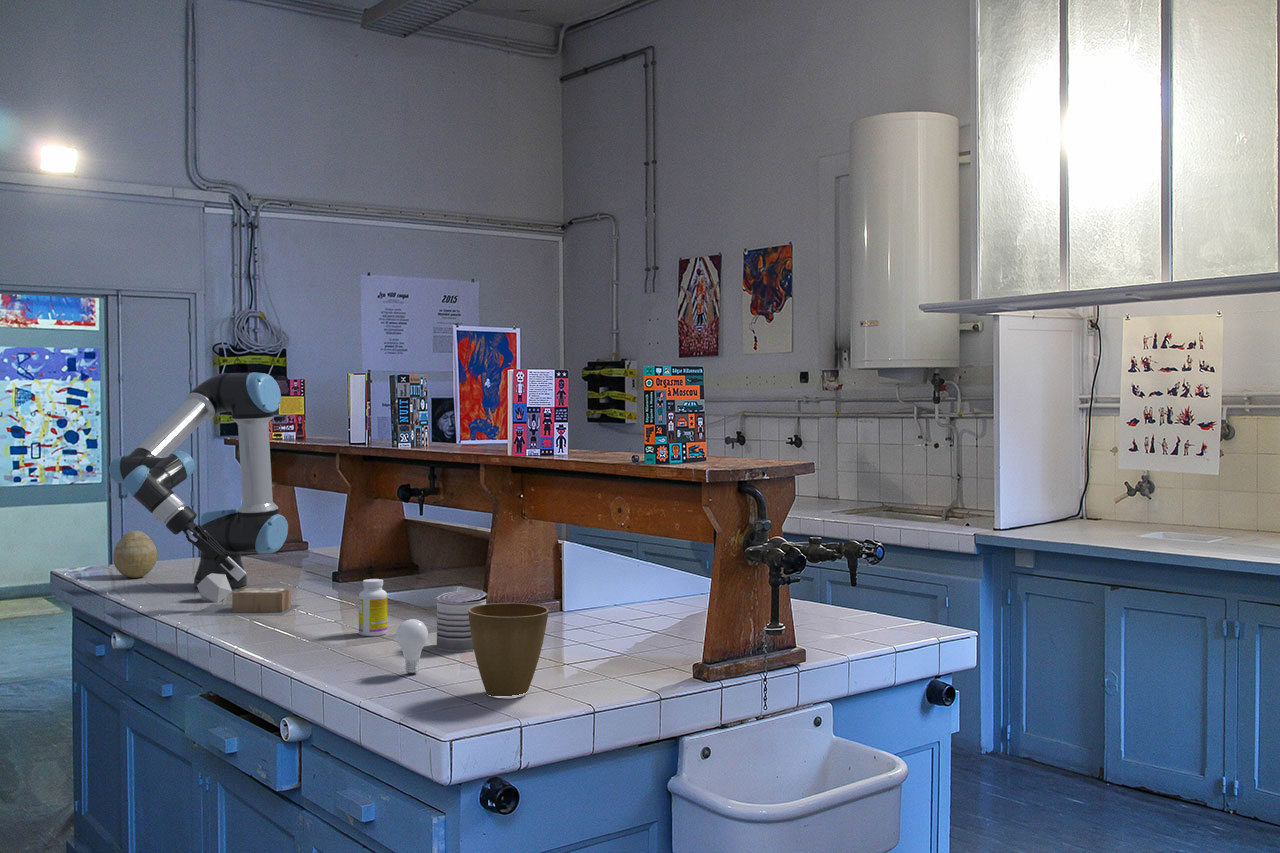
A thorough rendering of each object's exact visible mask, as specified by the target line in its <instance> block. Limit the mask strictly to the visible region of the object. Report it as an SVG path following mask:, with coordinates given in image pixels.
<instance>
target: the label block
mask: <svg viewBox="0 0 1280 853" xmlns="http://www.w3.org/2000/svg"><path fill="white" fill-rule="evenodd" d="M291 591H292V589H291V588H240V589H239V590H236V591H234V592H231V595H232V596H231V598H232V599H231V600H232V601H231V603H232V604H231V605H232V612H284V611H286V610H288V609H289V608H291V605H292V602H291V599H292V598H291V595H292V593H291Z"/></svg>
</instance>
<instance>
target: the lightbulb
mask: <svg viewBox="0 0 1280 853" xmlns="http://www.w3.org/2000/svg"><path fill="white" fill-rule="evenodd" d="M395 639H396V643H397V644H398V647H400V649H401V651H402V654H403V658H404V664H405V668H404V669H405V670H404V672H405V673H407V674H409V675H415V674H416V673H418V672H419V670H420V668H419V667H420V666H419V664H420V662H419V661H420V658H421V654H422V650H423V648H424V647H425V646H426V645H427V642H428V639H429V630H428V628H427V626H426V624H425V623H424V622H423V621H421V620H419V619H416V618H410V619H406V620H405V621H402V623H400V624H399V625H398V627H397V629H396V633H395Z"/></svg>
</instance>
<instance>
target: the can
mask: <svg viewBox="0 0 1280 853" xmlns="http://www.w3.org/2000/svg"><path fill="white" fill-rule="evenodd" d="M486 596H489V594H488V593H487V592H485V591H483V590H469V589H468V590H466V589H463V590H462V589H461V590H456V591H450V592H444V593H442V594H440V595H438V596H436V597H435V598H434V599H435V600H436V649H437V650H438V651H443V652H446V651H447V652H448V653H467V652H466V651H469V652H474V651H473V650H474V648H473V642H472V637H471V631H470V623H469V614H468V609H469V608H471V607H473V606H477V605H484V604H487V598H486Z"/></svg>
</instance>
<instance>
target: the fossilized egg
mask: <svg viewBox="0 0 1280 853" xmlns="http://www.w3.org/2000/svg"><path fill="white" fill-rule="evenodd" d="M157 550H158V549H157V548H156V545H155V543H154V541H153V540H152V539H151V537H150V536H149V535H147V534H146V533H144V532H143V531H141V530H131V531H128V532H127V533H125V534H124V535H123V536H122V537H121V538H120V539H119V540H118V542H117V543H116V545H115V547H114V550H113V555H112V559H113V564H114V567H115V570H117V571H118V572H119V573H120V574H121V575H122V576H124V577H127V578H131V579H139V578H142V577H145V576H147V574H149V573H150V572H151V571H152V570H153V569H154V568H155V566H156V563H157V560H158V551H157Z"/></svg>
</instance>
